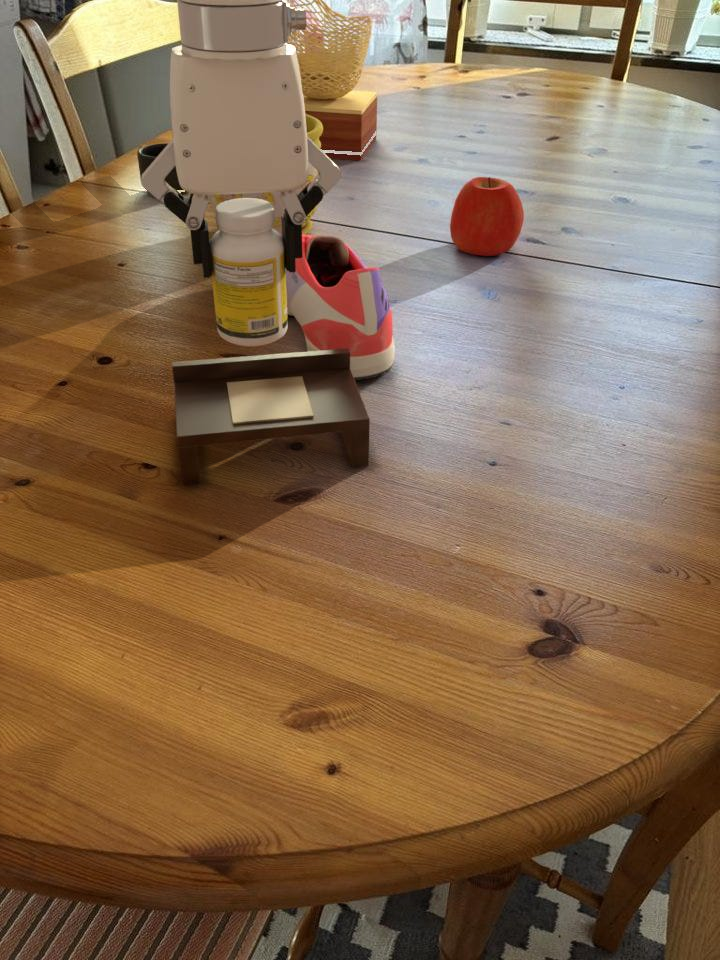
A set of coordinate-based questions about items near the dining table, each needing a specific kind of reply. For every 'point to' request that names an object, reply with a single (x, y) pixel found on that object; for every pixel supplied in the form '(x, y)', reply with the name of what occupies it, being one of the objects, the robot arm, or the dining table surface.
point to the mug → (149, 155)
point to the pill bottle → (248, 273)
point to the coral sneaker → (341, 305)
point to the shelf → (267, 402)
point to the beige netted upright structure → (336, 82)
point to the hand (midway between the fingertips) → (248, 266)
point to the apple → (486, 217)
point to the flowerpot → (313, 133)
